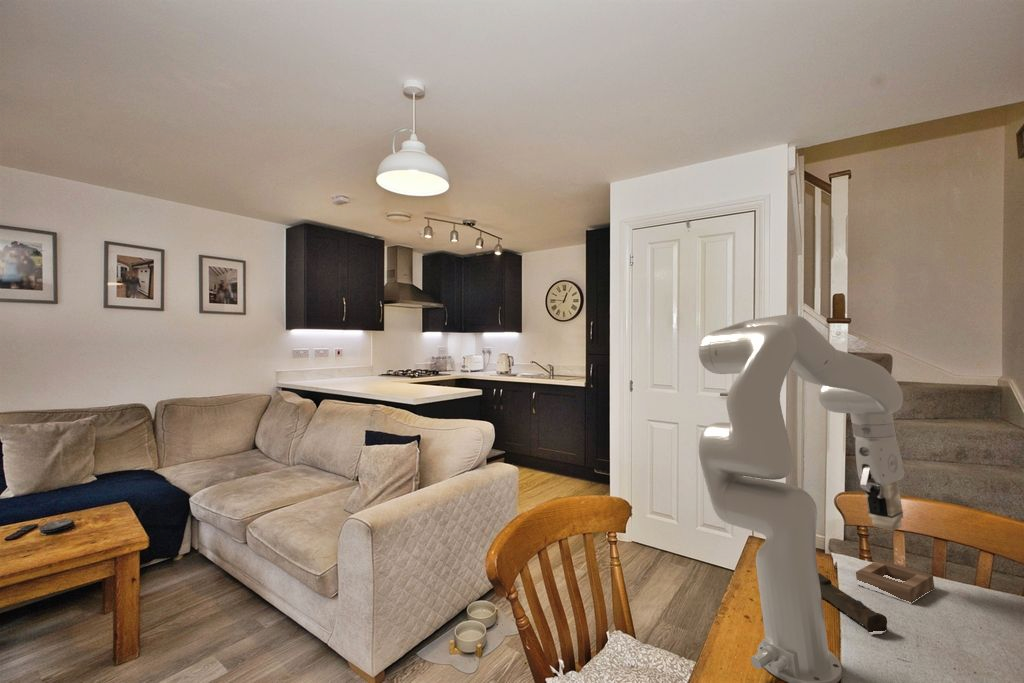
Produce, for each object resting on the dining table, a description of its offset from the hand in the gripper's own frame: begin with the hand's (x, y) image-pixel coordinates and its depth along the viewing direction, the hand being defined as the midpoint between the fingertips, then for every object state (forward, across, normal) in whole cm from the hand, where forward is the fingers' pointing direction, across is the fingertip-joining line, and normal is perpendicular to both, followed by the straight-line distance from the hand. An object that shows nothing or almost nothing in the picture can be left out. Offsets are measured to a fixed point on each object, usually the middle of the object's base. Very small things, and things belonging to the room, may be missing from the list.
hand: (885, 511), depth 101 cm
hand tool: (+17, -18, +2) cm, 25 cm away
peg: (+3, 0, 0) cm, 3 cm away
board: (+17, 0, 0) cm, 17 cm away
